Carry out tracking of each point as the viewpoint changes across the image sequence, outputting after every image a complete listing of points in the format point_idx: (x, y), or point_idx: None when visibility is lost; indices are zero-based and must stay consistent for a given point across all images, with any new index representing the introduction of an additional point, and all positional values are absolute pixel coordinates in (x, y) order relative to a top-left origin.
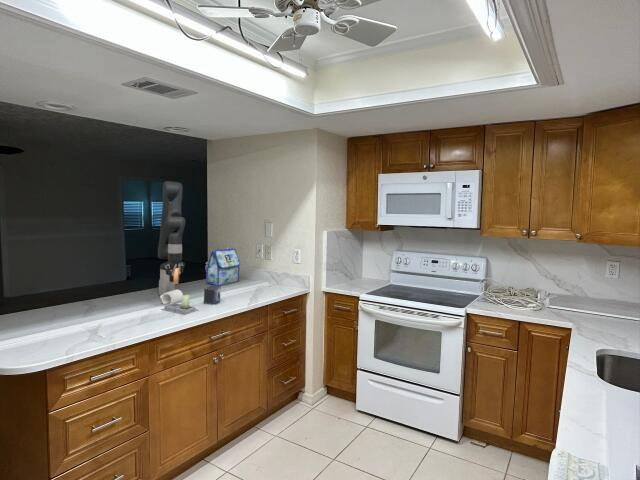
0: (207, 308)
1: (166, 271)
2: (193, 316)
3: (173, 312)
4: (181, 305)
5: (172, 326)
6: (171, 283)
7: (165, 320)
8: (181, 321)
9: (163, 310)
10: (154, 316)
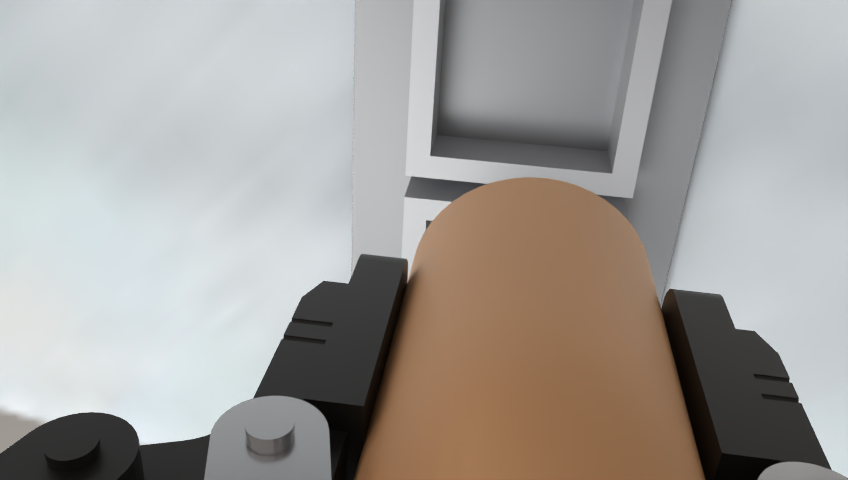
0: (831, 383)
1: None
2: None
3: (359, 178)
4: (575, 183)
5: (48, 412)
6: (416, 253)
7: (121, 244)
8: (213, 401)
9: None
10: (132, 10)
